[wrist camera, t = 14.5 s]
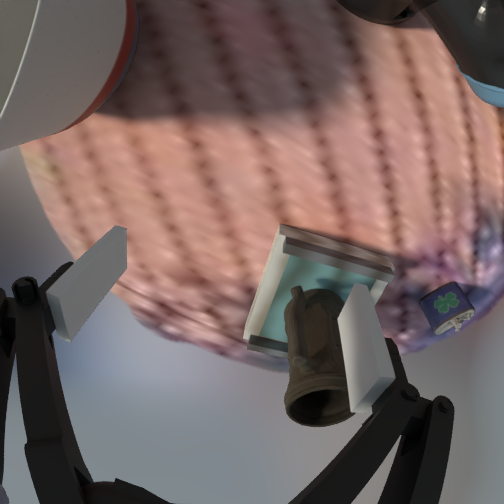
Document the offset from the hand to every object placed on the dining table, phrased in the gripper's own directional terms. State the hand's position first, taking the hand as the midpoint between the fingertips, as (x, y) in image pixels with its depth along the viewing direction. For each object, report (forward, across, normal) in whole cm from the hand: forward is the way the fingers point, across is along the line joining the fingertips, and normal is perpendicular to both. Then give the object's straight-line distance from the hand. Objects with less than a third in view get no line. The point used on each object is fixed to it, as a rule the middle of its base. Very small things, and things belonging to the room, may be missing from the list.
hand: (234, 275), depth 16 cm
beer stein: (+26, +12, -20) cm, 35 cm away
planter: (+31, -33, +14) cm, 47 cm away
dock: (+30, +14, -21) cm, 39 cm away
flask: (+31, +39, -15) cm, 52 cm away
